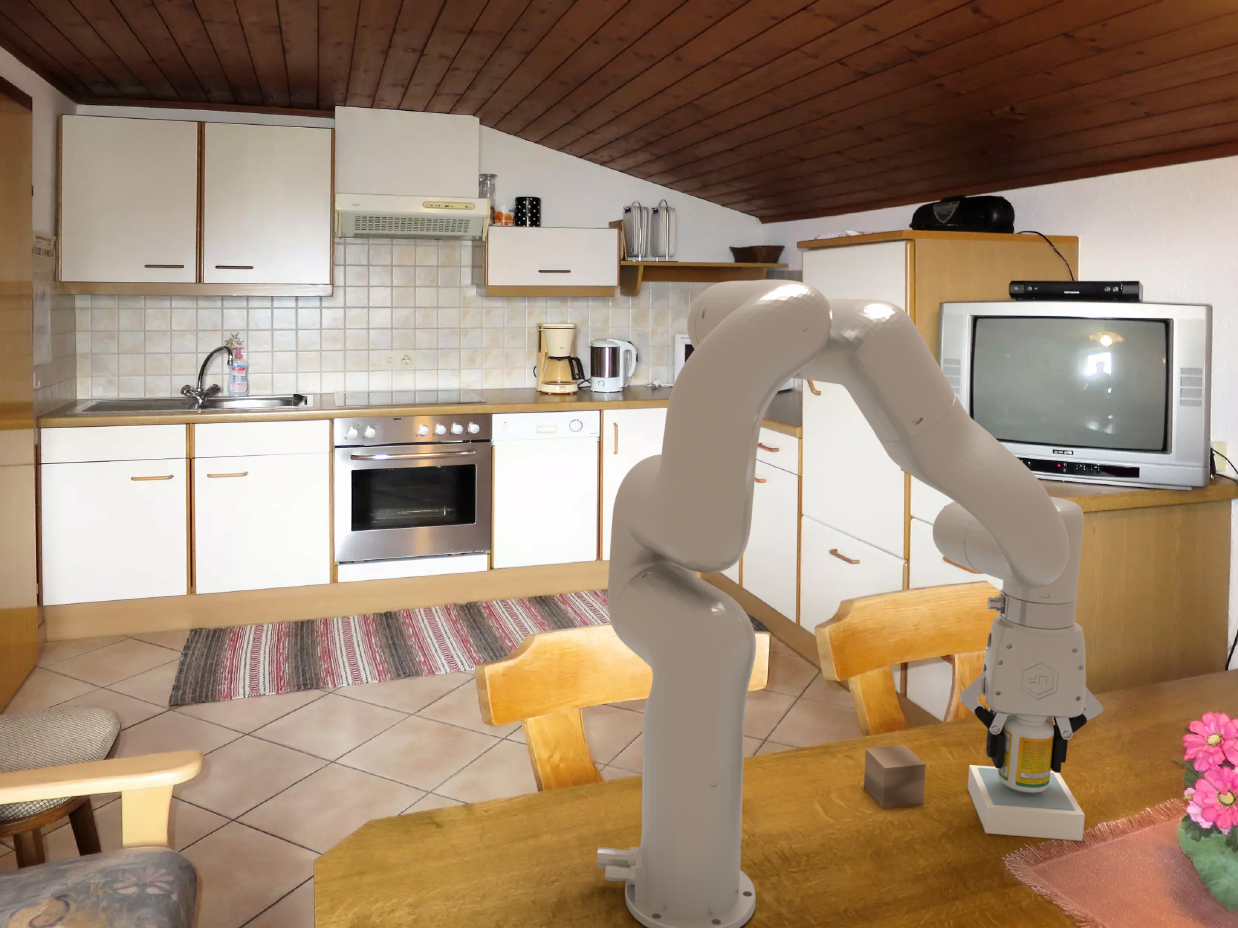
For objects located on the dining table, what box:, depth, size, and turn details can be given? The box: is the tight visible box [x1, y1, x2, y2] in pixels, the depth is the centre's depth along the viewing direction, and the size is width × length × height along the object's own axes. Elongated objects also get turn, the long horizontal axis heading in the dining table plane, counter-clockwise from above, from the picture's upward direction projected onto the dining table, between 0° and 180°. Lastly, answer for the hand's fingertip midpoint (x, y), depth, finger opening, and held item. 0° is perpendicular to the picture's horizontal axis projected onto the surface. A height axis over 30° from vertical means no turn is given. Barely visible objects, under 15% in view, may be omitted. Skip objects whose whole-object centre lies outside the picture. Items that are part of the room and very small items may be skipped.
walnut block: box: [863, 744, 926, 809], centre depth 116 cm, size 5×5×5 cm
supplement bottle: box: [998, 714, 1054, 793], centre depth 111 cm, size 5×5×10 cm
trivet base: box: [967, 764, 1086, 842], centre depth 112 cm, size 10×10×3 cm
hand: (1024, 763), depth 111 cm, fingers closed on supplement bottle, 5 cm apart
